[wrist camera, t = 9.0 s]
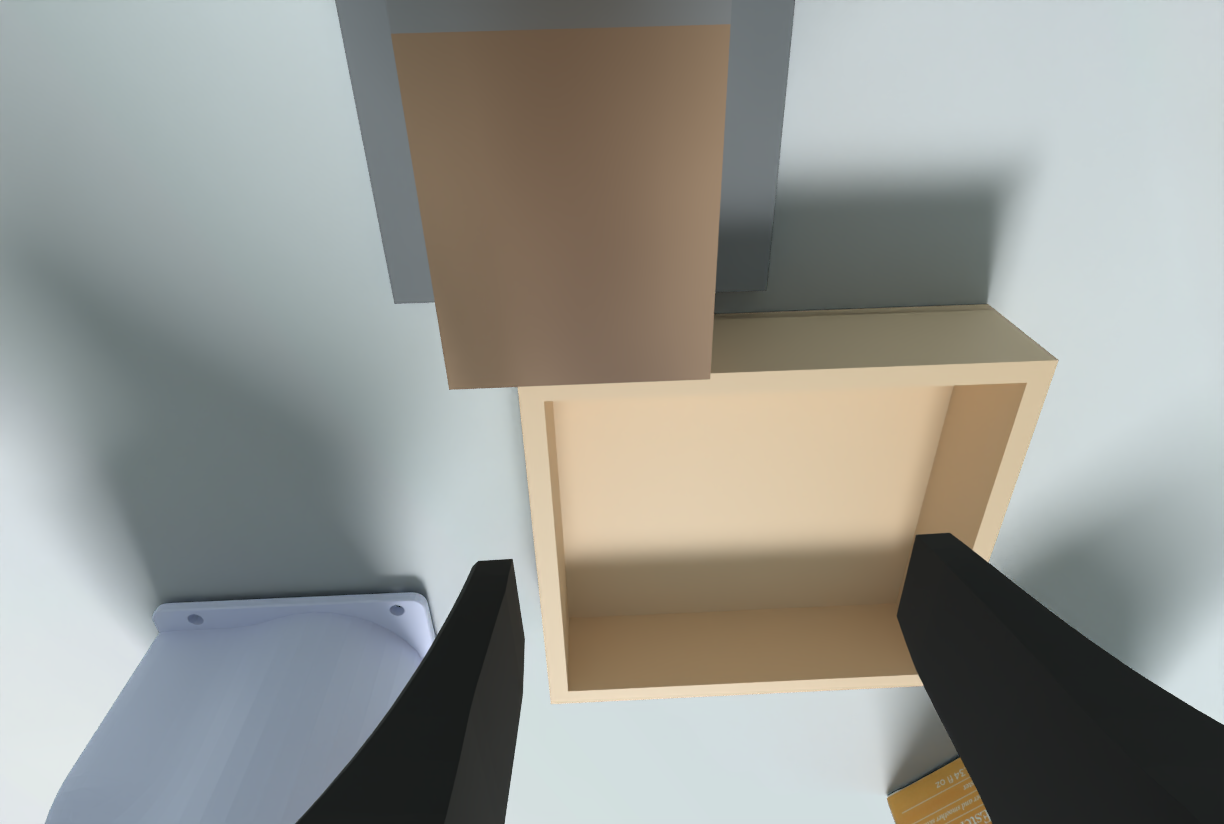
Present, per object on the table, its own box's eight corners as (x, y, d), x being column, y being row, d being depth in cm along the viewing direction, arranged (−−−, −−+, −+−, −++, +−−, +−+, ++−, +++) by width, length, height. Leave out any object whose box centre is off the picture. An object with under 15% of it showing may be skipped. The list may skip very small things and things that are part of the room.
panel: (399, 295, 19) (394, 303, 19) (310, -173, 14) (300, -179, 14) (761, 282, 20) (766, 290, 19) (804, -184, 14) (813, -190, 14)
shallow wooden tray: (554, 621, 26) (550, 704, 23) (526, 320, 20) (516, 380, 17) (904, 605, 27) (945, 684, 24) (987, 304, 20) (1058, 360, 17)
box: (485, 276, 19) (448, 389, 13) (439, -97, 14) (361, -139, 9) (674, 269, 19) (710, 379, 14) (683, -103, 15) (740, -148, 9)
